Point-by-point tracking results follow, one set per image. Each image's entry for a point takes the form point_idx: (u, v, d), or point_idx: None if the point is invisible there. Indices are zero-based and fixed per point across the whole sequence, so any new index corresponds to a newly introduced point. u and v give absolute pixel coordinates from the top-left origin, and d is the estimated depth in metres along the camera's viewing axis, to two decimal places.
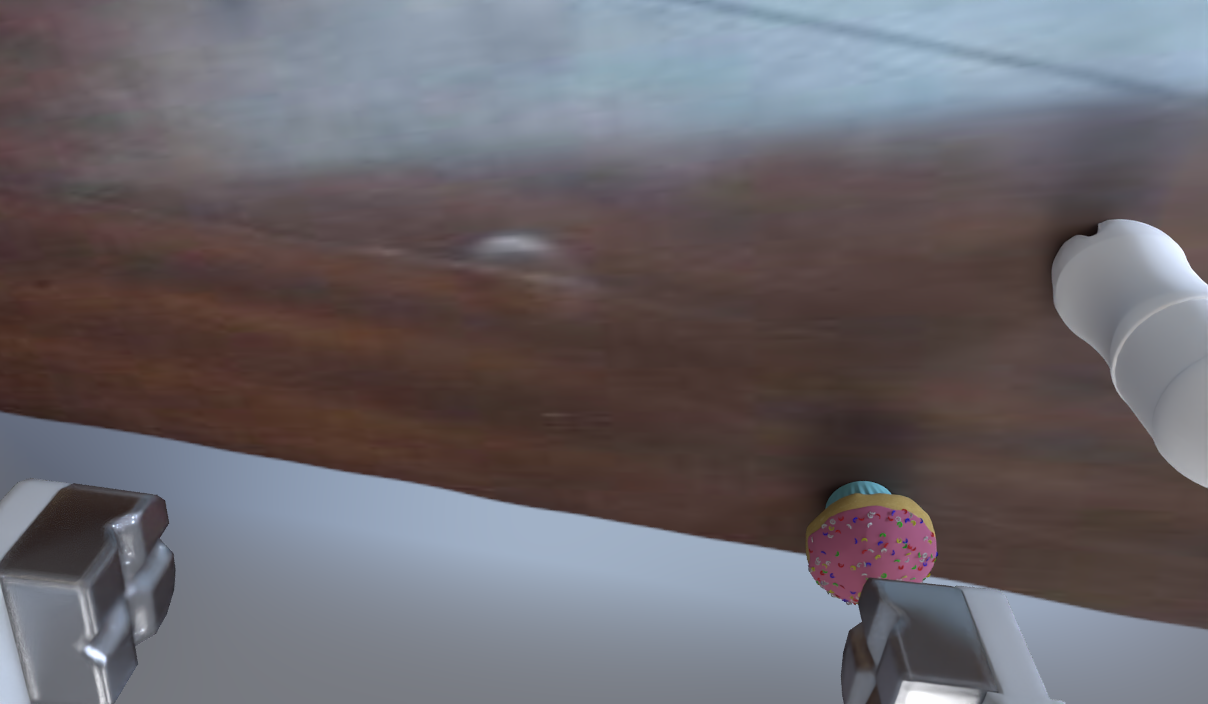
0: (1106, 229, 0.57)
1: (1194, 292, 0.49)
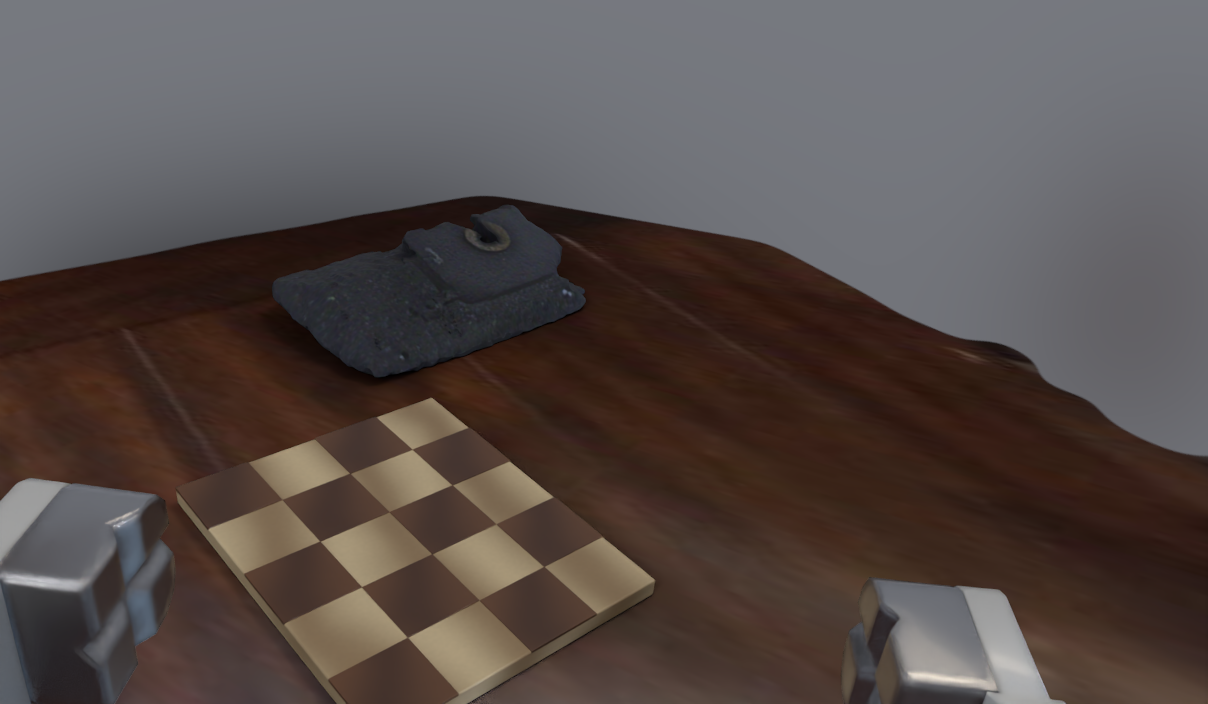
0: None
1: None
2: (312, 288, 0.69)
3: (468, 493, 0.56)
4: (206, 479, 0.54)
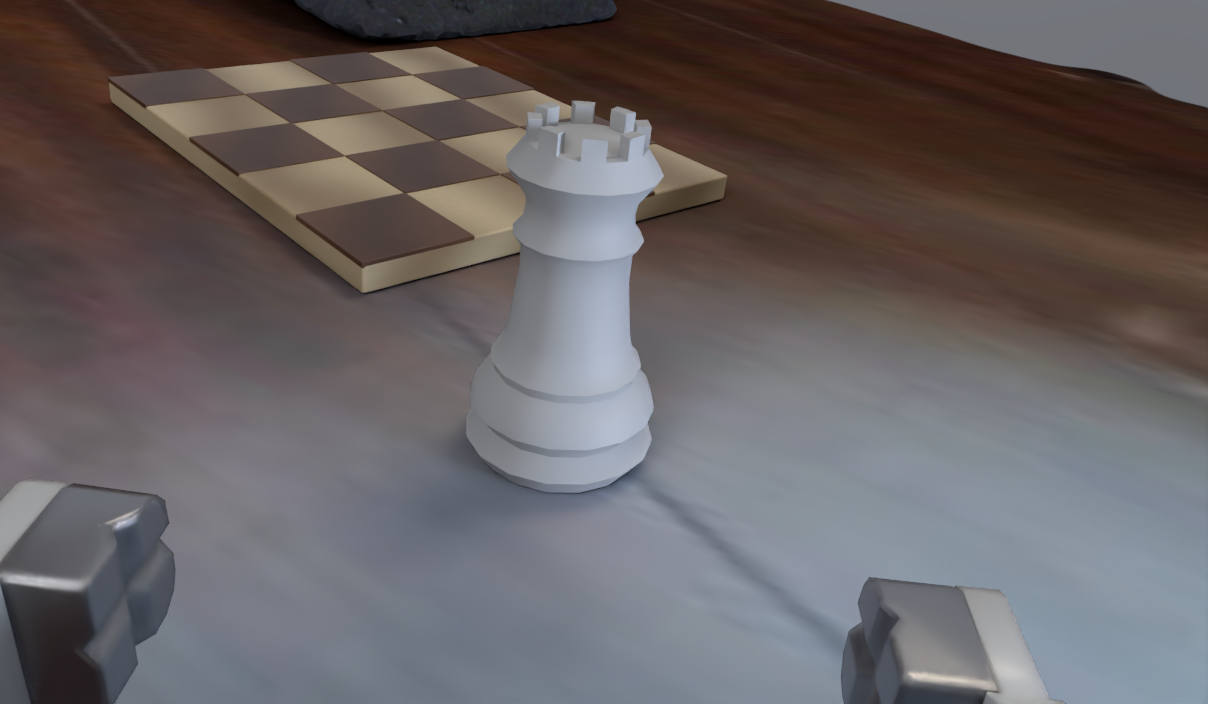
0: None
1: None
2: None
3: (483, 105, 0.44)
4: (148, 75, 0.42)
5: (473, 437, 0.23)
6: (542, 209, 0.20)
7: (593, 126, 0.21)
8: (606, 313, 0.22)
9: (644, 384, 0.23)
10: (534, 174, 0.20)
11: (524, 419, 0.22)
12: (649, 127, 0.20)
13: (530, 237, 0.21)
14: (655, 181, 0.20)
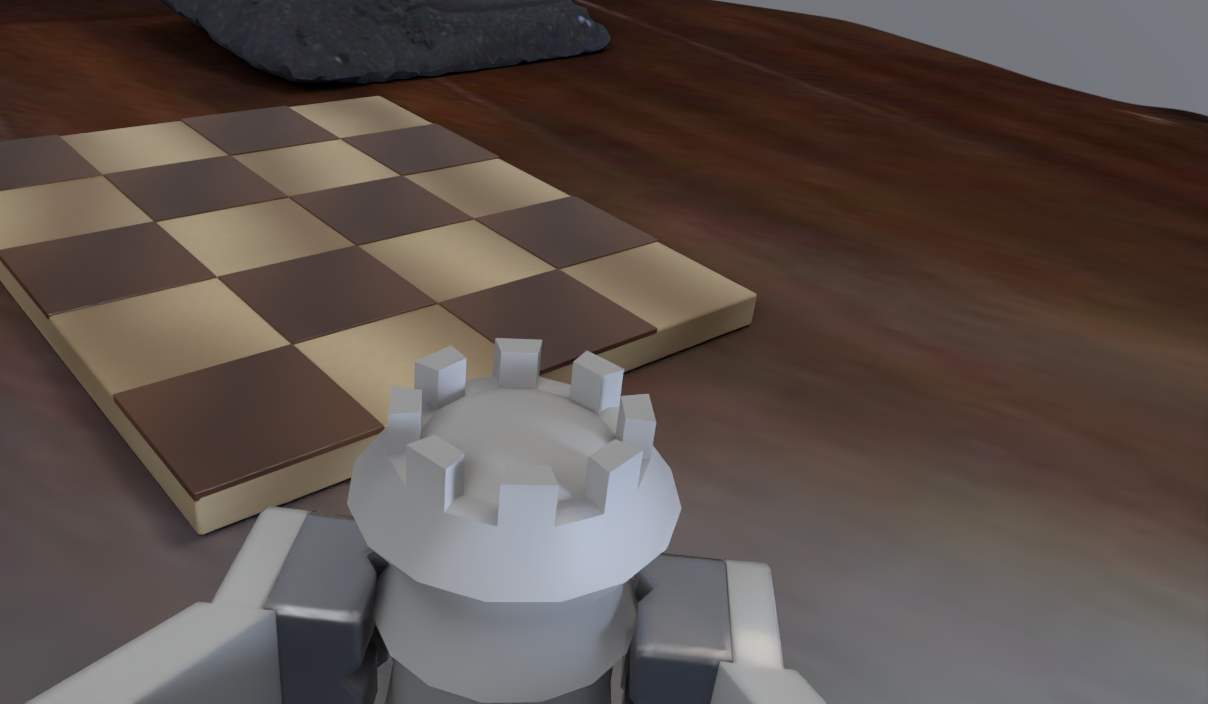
0: None
1: None
2: None
3: (429, 184, 0.33)
4: None
5: None
6: (423, 592, 0.10)
7: (536, 400, 0.10)
8: None
9: None
10: (397, 544, 0.09)
11: None
12: (651, 420, 0.10)
13: (404, 638, 0.10)
14: (663, 540, 0.09)
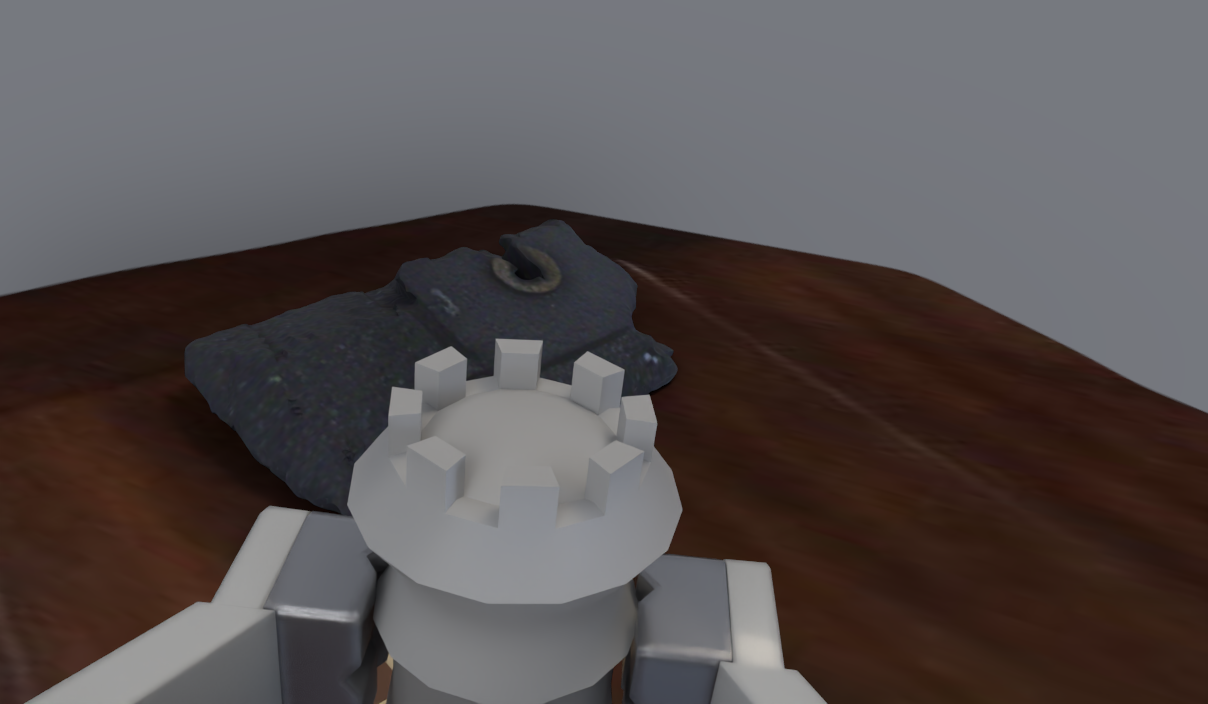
0: None
1: None
2: (245, 360, 0.42)
3: None
4: None
5: None
6: (423, 595, 0.10)
7: (536, 401, 0.10)
8: None
9: None
10: (397, 545, 0.09)
11: None
12: (652, 421, 0.10)
13: (403, 640, 0.10)
14: (665, 541, 0.09)
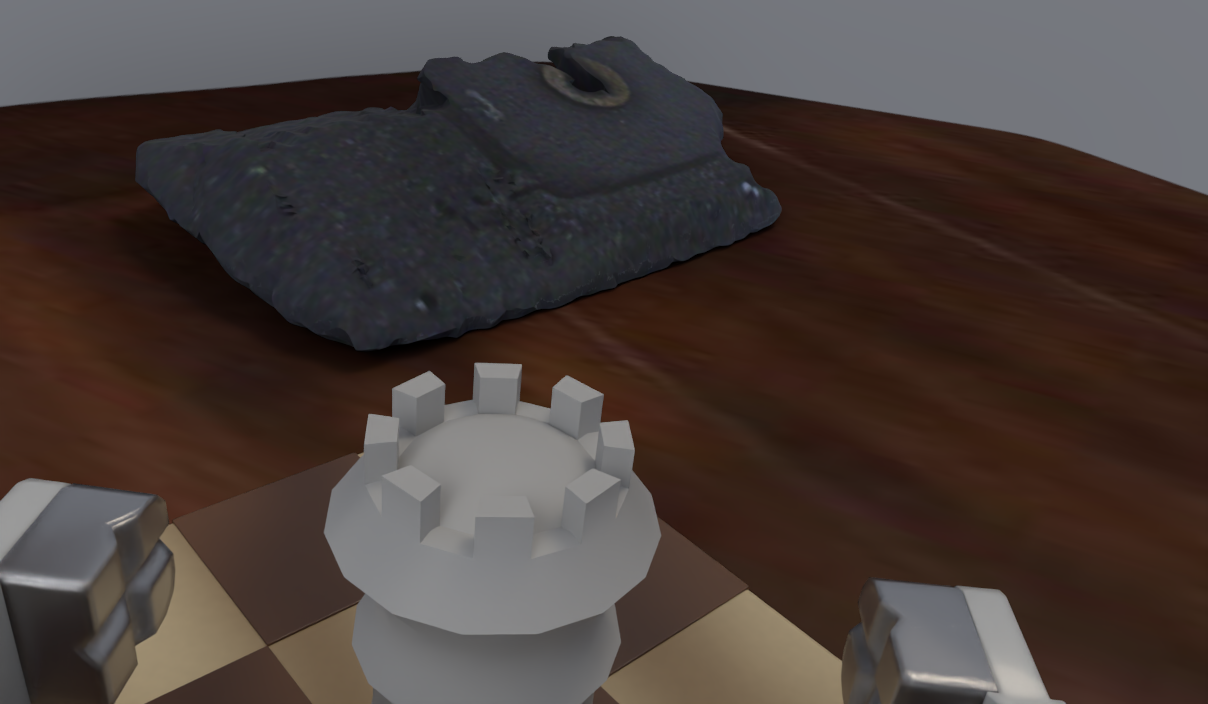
0: None
1: None
2: (217, 150, 0.30)
3: None
4: None
5: None
6: (401, 621, 0.10)
7: (515, 426, 0.10)
8: None
9: None
10: (373, 575, 0.09)
11: None
12: (630, 448, 0.10)
13: (381, 666, 0.10)
14: (642, 569, 0.09)
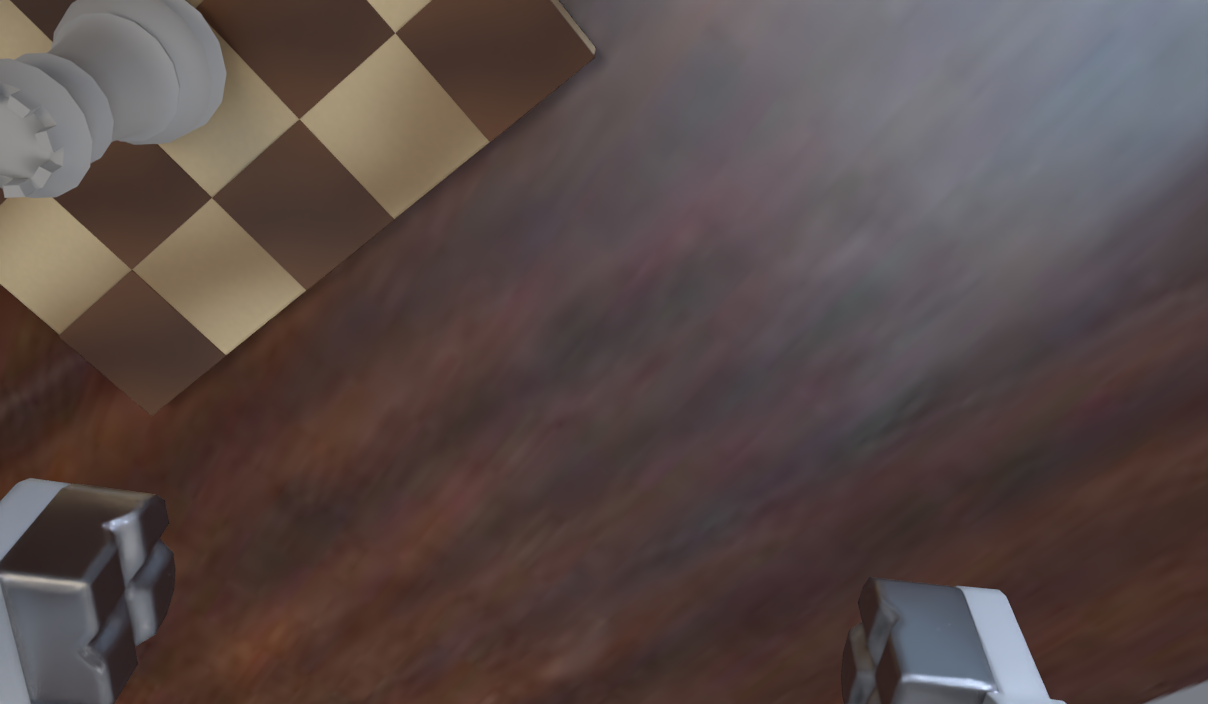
0: None
1: None
2: None
3: None
4: (120, 382, 0.35)
5: None
6: None
7: None
8: (115, 69, 0.25)
9: (114, 2, 0.27)
10: (75, 177, 0.23)
11: (195, 106, 0.28)
12: None
13: (93, 155, 0.25)
14: (35, 70, 0.22)
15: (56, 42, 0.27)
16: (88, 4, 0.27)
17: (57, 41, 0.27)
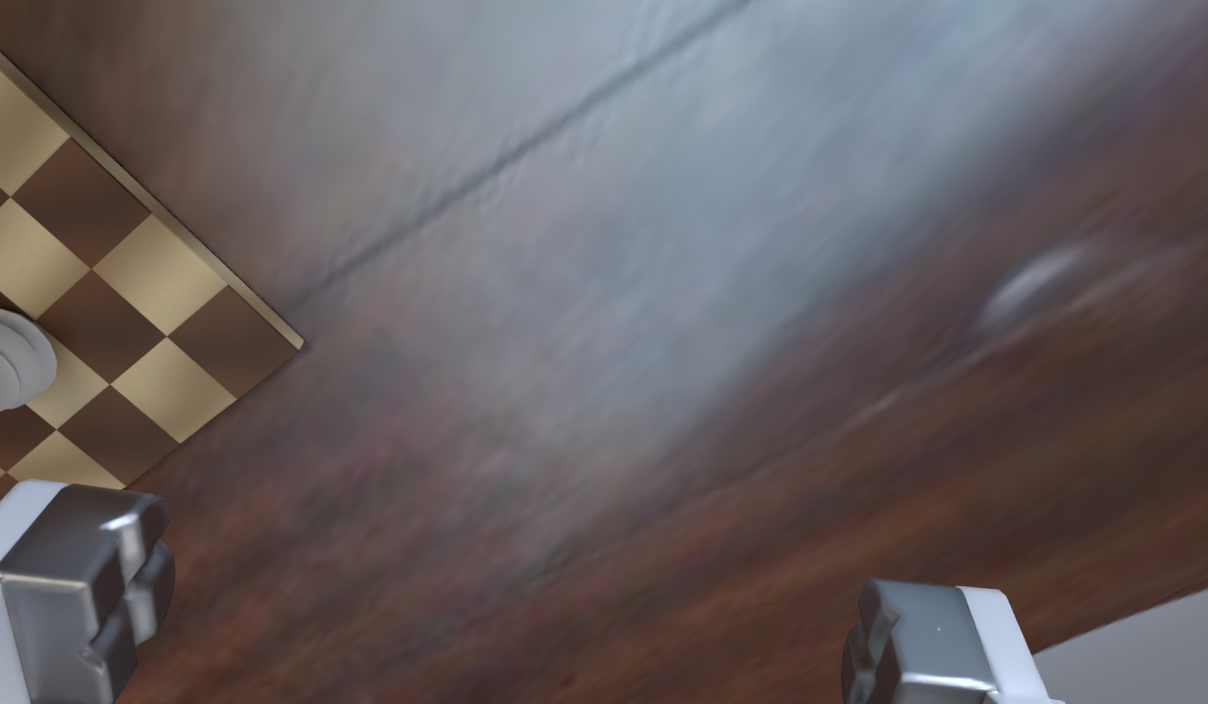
0: None
1: None
2: None
3: None
4: None
5: None
6: None
7: None
8: None
9: None
10: None
11: (33, 388, 0.43)
12: None
13: None
14: None
15: None
16: None
17: None
